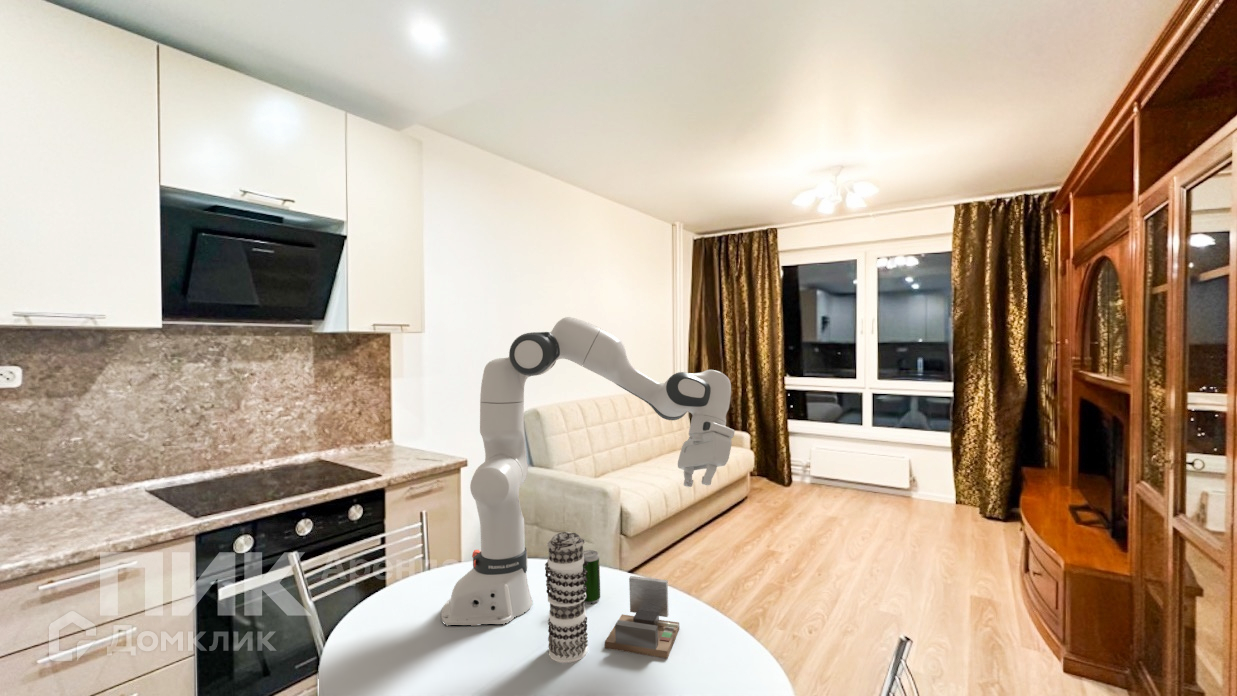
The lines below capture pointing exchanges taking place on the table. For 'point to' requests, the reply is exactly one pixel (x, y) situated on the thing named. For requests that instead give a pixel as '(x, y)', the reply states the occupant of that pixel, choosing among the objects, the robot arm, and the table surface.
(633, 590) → the brushed metal plate
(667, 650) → the base
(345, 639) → the table surface
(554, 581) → the decorative candle
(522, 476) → the robot arm
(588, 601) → the green soda can
